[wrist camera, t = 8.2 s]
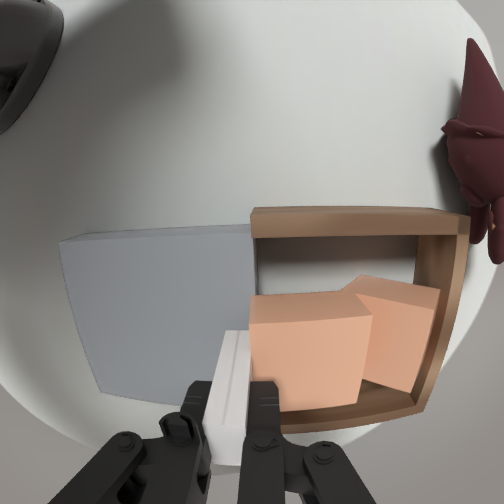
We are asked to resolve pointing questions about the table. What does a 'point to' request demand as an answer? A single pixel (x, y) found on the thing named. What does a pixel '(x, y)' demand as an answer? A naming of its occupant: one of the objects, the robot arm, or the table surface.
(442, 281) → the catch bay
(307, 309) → the tile
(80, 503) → the robot arm
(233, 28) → the table surface
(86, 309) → the board
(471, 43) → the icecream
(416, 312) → the tile
